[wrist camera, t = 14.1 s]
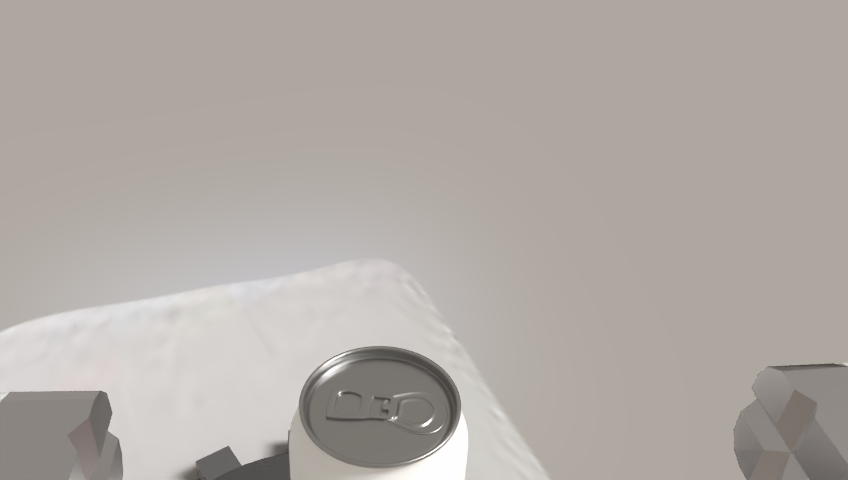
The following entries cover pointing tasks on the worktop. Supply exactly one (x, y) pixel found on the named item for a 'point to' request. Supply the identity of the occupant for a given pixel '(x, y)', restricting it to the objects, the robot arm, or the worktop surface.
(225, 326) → the worktop surface
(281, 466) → the sprocket plate
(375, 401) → the can
